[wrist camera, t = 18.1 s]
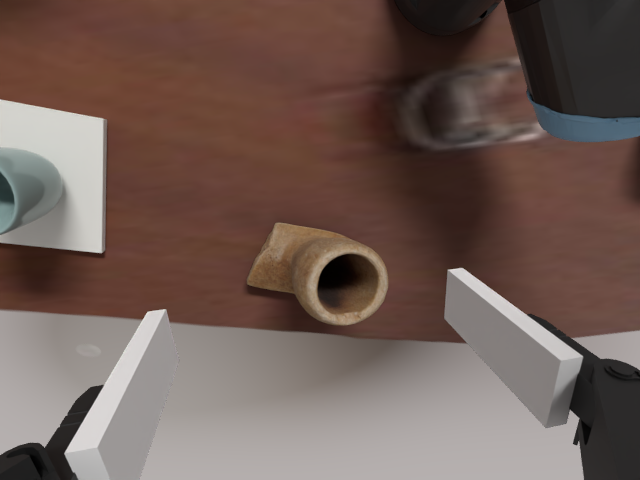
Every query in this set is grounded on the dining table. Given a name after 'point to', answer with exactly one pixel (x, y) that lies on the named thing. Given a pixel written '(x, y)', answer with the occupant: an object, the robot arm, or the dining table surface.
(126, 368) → the robot arm
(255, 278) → the stone cup
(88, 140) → the mat
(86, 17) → the dining table surface
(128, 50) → the dining table surface
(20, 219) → the cup
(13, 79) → the dining table surface
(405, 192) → the dining table surface
